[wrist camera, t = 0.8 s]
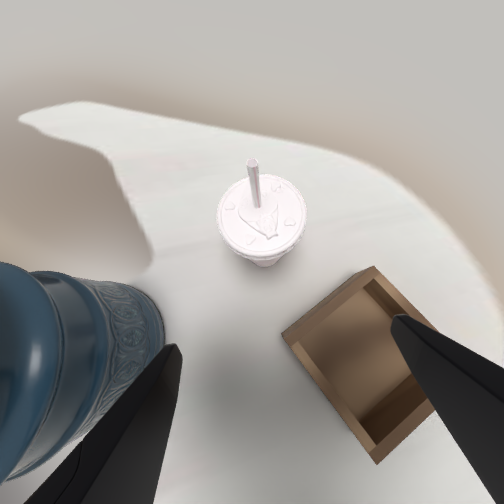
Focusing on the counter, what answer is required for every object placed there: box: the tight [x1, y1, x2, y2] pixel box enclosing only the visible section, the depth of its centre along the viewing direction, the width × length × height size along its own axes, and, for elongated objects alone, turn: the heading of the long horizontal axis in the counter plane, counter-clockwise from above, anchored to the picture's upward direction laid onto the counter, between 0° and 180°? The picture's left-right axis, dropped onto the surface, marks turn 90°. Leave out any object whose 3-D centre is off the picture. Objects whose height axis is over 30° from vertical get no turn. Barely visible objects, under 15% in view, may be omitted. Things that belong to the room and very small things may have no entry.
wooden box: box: [282, 266, 438, 465], centre depth 18 cm, size 10×10×4 cm
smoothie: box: [217, 158, 307, 267], centre depth 17 cm, size 6×6×14 cm
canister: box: [0, 262, 164, 486], centre depth 14 cm, size 13×13×18 cm
